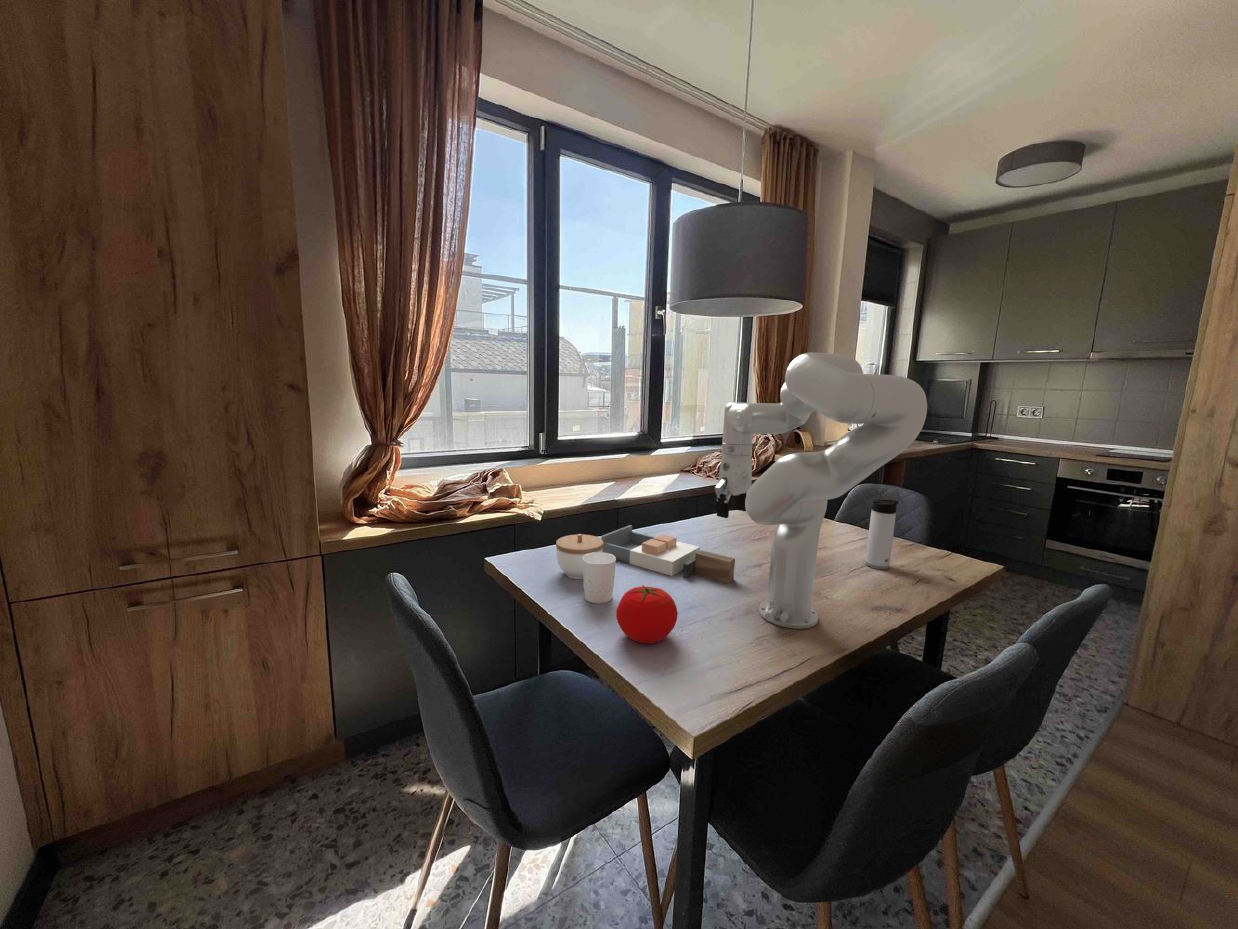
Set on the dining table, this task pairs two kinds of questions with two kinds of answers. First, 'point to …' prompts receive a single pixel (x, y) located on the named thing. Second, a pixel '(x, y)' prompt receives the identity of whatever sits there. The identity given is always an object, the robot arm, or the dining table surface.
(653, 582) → the dining table surface
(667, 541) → the tile
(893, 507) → the travel mug
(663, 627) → the tomato
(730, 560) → the scraper
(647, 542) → the tile
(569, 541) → the lidded bowl
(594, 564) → the white cup
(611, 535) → the tray
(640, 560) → the board
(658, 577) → the dining table surface
